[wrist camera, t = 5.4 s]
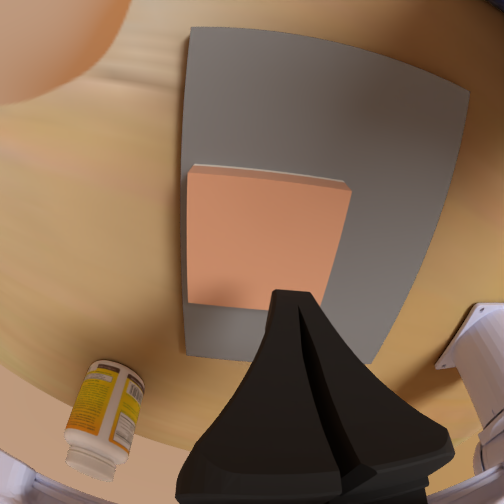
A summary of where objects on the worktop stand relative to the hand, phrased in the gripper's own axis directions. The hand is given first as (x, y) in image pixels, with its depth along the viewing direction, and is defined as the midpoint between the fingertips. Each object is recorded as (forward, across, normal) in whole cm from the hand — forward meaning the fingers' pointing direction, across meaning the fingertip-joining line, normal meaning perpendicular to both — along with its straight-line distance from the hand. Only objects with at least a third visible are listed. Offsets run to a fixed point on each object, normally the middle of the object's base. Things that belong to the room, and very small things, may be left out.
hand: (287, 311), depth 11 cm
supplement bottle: (+6, +12, +16) cm, 21 cm away
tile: (+5, -3, 0) cm, 5 cm away
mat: (+6, -2, 0) cm, 7 cm away
